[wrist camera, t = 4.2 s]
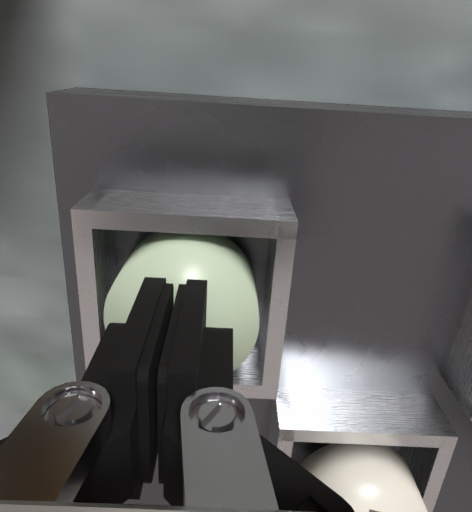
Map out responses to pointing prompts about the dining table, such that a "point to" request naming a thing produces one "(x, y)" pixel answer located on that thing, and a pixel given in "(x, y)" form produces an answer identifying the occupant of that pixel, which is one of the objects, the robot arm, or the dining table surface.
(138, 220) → the button panel
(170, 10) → the dining table surface
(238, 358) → the sage button
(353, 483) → the cream button
